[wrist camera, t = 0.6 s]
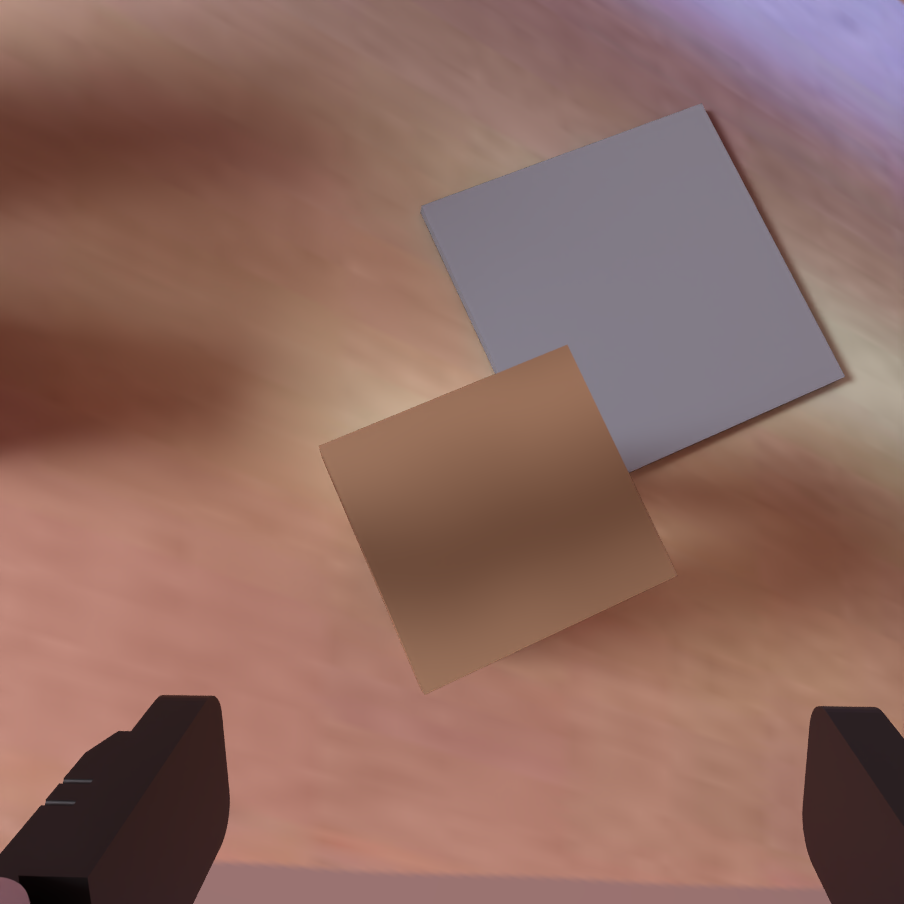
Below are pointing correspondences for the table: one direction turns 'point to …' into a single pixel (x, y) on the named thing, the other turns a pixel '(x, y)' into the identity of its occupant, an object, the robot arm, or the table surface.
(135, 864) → the robot arm
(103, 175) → the table surface
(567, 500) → the stool
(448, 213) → the mat
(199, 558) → the table surface
